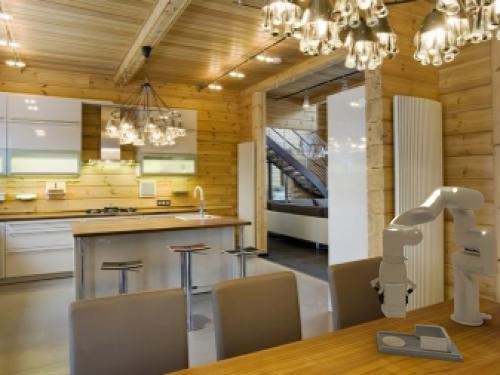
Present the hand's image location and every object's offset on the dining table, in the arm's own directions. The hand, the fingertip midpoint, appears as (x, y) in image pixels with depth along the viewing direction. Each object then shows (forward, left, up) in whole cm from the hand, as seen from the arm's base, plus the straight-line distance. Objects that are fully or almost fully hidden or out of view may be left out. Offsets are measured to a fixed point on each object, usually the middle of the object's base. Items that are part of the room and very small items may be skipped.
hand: (393, 304), depth 140 cm
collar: (-14, 0, -14) cm, 20 cm away
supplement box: (0, 0, -4) cm, 4 cm away
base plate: (-8, 0, -16) cm, 18 cm away
